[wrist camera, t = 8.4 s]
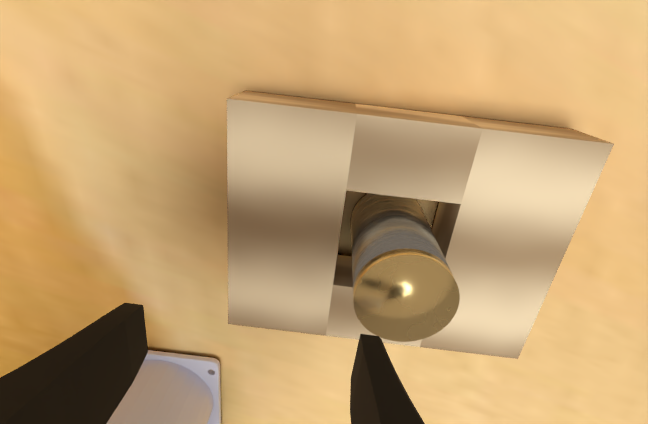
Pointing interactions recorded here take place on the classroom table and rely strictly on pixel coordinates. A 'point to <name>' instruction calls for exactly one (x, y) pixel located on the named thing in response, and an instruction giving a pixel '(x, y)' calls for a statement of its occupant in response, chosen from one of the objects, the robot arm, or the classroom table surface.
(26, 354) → the classroom table surface
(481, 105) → the classroom table surface
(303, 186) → the block
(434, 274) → the pin
